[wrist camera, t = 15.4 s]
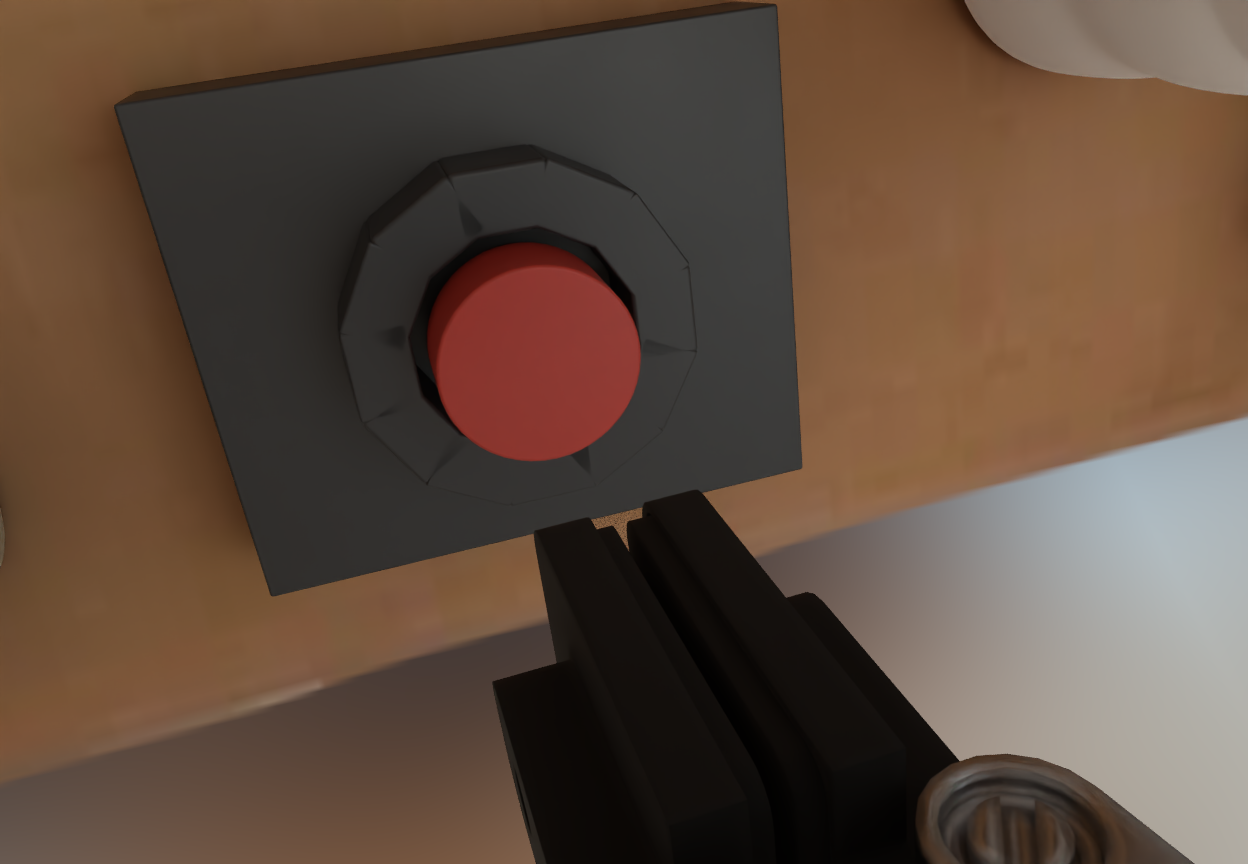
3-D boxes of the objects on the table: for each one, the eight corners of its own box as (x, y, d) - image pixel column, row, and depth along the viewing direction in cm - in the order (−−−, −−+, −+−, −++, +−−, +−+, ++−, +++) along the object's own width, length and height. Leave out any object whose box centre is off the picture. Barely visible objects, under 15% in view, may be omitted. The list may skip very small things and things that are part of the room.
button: (447, 443, 20) (458, 482, 18) (407, 261, 18) (416, 287, 17) (627, 403, 21) (652, 438, 19) (603, 224, 19) (628, 247, 17)
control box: (275, 547, 24) (266, 647, 20) (132, 92, 19) (91, 117, 16) (767, 432, 26) (838, 504, 22) (737, 1, 22) (818, 6, 18)
